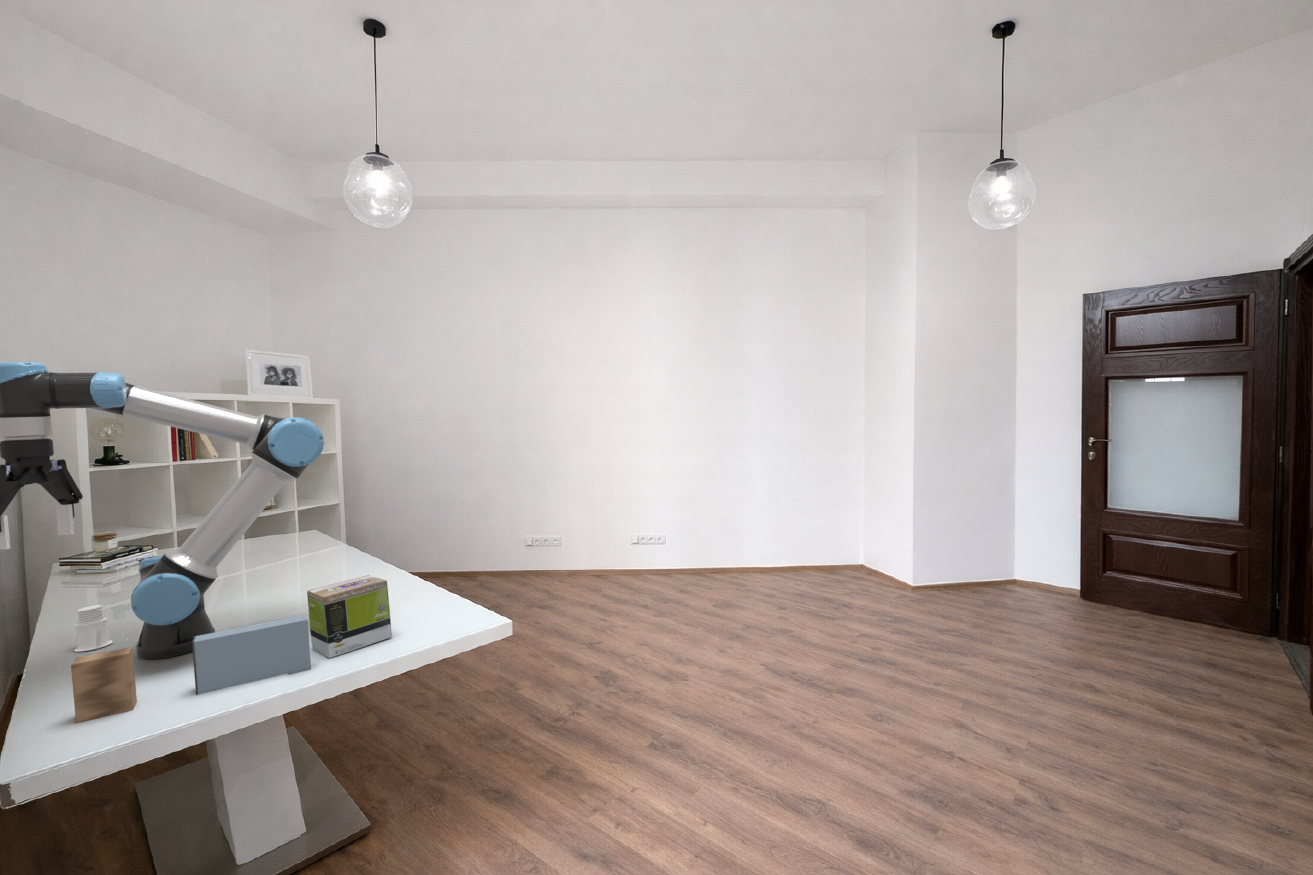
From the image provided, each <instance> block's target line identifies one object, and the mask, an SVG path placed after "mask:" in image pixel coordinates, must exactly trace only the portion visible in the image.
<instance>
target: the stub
mask: <svg viewBox="0 0 1313 875" xmlns="http://www.w3.org/2000/svg"><path fill="white" fill-rule="evenodd" d="M133 649H134V648H133V646H130V647H126V648H120V649H114V650H109V651H104V652H99V653H94V654H88V655H84V656H83V655H82V656H79V657H76V658H75V659H74V660H73V662H72V663H71V664H70V670H71V671H70V672H71V680H72V681H71V682H72V693H73V704H74V715H75V723H76V724H78V723H83V722H87V721H91V720H95V719H100V718H105V717H108V716H113V715H117V714H120V713H125V712H129V711H134V709H135V707H136V705H137V702H138V700H137V699H138V697H137V685H136V674H135V661H134V652H133Z"/></svg>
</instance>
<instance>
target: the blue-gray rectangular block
mask: <svg viewBox="0 0 1313 875" xmlns="http://www.w3.org/2000/svg"><path fill="white" fill-rule="evenodd" d="M308 620H309V619H308V615H307V614H304V615H298V616H293V617H288V618H284V619H279V620H273V621H267V622H263V623H262V622H261V623H257V624H253V625H252V624H251V625H247V626H242V627H237V628H231V629H226V630H221V631H215V633H210V634H205V635H199V636H194V638H193V641H192V649H193V651H192V659H193V660H192V661H193V673H194V683H195V684H194V685H195V695H196V696H198V695H201V694H206V693H209V692H215V691H218V690H223V689H227V688H231V687H236V686H241V685H245V684H248V683H252V682H257V681H261V680H266V679H270V678H273V677H274V678H275V677H279V676H282V675H286V674H287V675H291V674H296V673H300V672H304V671H308V670H312V664H311V661H312V660H311V649H310V634H309V633H310V631H309V621H308Z"/></svg>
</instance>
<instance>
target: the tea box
mask: <svg viewBox="0 0 1313 875" xmlns="http://www.w3.org/2000/svg"><path fill="white" fill-rule="evenodd" d="M306 591H307V592H306V596H307V606H308V618H309V619H308V620H309V630H310V631H309V633H310V641H311V649H312V650H314V651H315V652H316V653H318V654H320V655H322V656H324V657H326V658H328V659H331V658H335V657H338V656H339V655H344V654H346V653H348V652H352V651H355V650H358V649H360V648H364V647H367V646H369V645H372V644H375V643H378V642H382V641H385V640H387V639H390V638H391V639H392V637H393V634H392V633H393V632H392V624H391V623H392V622H391V609H390V599H389V589H388V580H386V579H382V578H378V577H375V576H372V575H368V574H367V575H364V576H361V577H356V578H353V579H352V578H351V579H349V580H345V581H340V582H337V583H336V582H335V583H332V584H328V585H325V586H320V587H316V588H313V589H308V590H306Z"/></svg>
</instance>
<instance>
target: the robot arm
mask: <svg viewBox="0 0 1313 875" xmlns="http://www.w3.org/2000/svg"><path fill="white" fill-rule="evenodd" d="M51 409H55V410H57V409H59V410H61V409H94V410H97V411H102V412H107V413H111V414H115V415H120V416H125V417H129V418H133V419H137V420H141V421H147V422H151V423H154V424H159V425H162V426H163V425H164V426H168V427H172V428H176V429H179V430H180V429H181V430H184V431H188V432H193V433H196V434H201V435H206V436H209V437H214V438H217V439H222V440H227V441H230V442H235V443H239V444H243V445H247V446H248V448H249V449H250V450H251V451H252V452H251V453H250V456H251V460H252V461H251V463H250V465H249V466H248V467H247V469H245V470H244V472H242V474H241V475H240V476H239V477H238V479H237V480H236V481H235V482H234V484H232V485H231V486H230V488H229V489H228V491H226V493H225V494H224V495H223V496H222V497H221V498H220V500H219V501H218V502H217V503H216V504H215V506H213V508H212V509H211V511H210V512H209V513H208V514H207V515H206V516H205V517H204V519H203V520H202V521H201V522H200V523H199V524H198V525H197V527H196V528H195V529H194V530H193V532H192V533H191V534H190V535H189V536H188V537H187V538H186V540H185V541H184V542H183V543H182V544H181V545H180V546H179V548H178V549H174V550H168V551H166V552H165V553H164V554H162V555H159V556H153V557H148V558H147V557H146V558H144V559H142V560H140V562H139V569H138V573H139V576H140V581H139V582H138V584H137V585H136V586H135V588H134V589H133V590H132V594H131V595H130V596H131V597H130V603H131V604H130V605H131V606H130V607H131V609H132V611H133V612H132V613H134V615H135V617H136V618H138V620H141V621H142V622H143V625H142V628H141V631H140V634H139V638H138V641H137V645H136V656H137V658H138V659H141V660H159V659H167V658H172V657H176V656H181V655H186V654H188V653H189V654H190V653H193V649H192V641H193V638H194V636H199V635H205V634H210V633H215V632H216V629H215V627H213V624H212V621H211V620H210V618H209V616H208V614H207V612H206V609H205V608H206V607H205V596H204V595H205V593H206V592H207V591H208V589H210V587H211V586H212V584H213V583H214V582H215V581H216V579H217V578H219V577H218V571H217V567H218V566H219V565H220V563H221V562H222V561H223V560H224V559H225V558H226V556H227V555H228V554H229V553H230V551H231V550H232V549H233V547H234V546H235V545H236V544H237V543H238V542H239V540H240V539H241V538H242V537H243V535H244V534H245V533H246V532H247V531H248V529H249V528H250V527H251V526H252V524H253V523H254V522H255V521H256V520H257V519H258V517H259V516H260V515H261V514H262V512H263V511H264V510H265V509H266V507H268V505H269V504H270V503H271V501H272V500H273V499H274V498H275V497H276V495H278V493H279V492H280V490H281V489H282V488H283V487H284V486H285V484H286V483H288V482H292V481H297V480H298V479H299V478H300V476H301V475H302V474H303V473H304V471H305V470H306V469H307V468H308V467H309V466H310V464H311V463H314V462H315V461H316V460H317V459H318V458H319V457H320V456H321V454H322V452H323V450H324V446H325V438H324V436H323V433H322V431H321V429H320V428H319V426H318V425H317V424H315V423H314V422H313V421H311V420H308V419H307V418H303V417H299V416H298V417H297V416H295V417H288V418H283V417H275V416H273V415H268V414H263V413H262V414H260V415H258V416H256V415H252V414H248V413H244V412H240V411H236V410H232V409H229V408H224V407H222V406H217V405H214V404H209V403H206V402H201V401H198V400H194V399H189V398H186V397H182V396H178V395H173V394H171V393H166V392H163V391H159V390H155V389H150V388H148V387H147V388H146V387H144V386H139V385H136V384H132V383H128V382H126V381H125V377H124V375H122V374H121V373H116V372H105V371H99V372H50V371H49V370H48V369H47V365H46V364H44V363H42V362H31V361H28V362H26V361H3V362H0V439H2V438H3V440H1V441H0V458H1V459H3V460H4V461H5V462H4V464H0V550H10V549H11V538H10V529H9V528H10V527H9V516H8V515H3V514H4V512H5V511H6V510H7V509H8V507H9V506H10V504H11V502H12V501H13V500H14V498H15V496H16V495H17V493H19V491H20V490H21V489H22V488H23V487H25V486H26V485H28V486H29V485H33V484H37V485H40V486H41V487H42V488H43V489H44V490H45V491H46V492H48V494H49V495H50V496H51V497H52V498H53V499H54V500H55V501H57V503H59V504H56V505H55V514H56V515H55V516H56V526H57V536H67V535H71V536H72V535H74V534H75V526H74V518H75V506H74V504H79V502H80V500H83V498H84V495H83V494H82V492H81V490H80V488H79V487H78V486H77V483H76V482H75V480H74V478H73V477H72V475H71V473H70V471H69V469H68V466H67V462H66V461H67V460H65V459H50V457H53V456H54V455H55V454H54V453H55V452H54V451H55V449H54V441H53V439H52V438H49V436H52V435H53V427H52V426H53V425H52V417H51Z"/></svg>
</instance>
